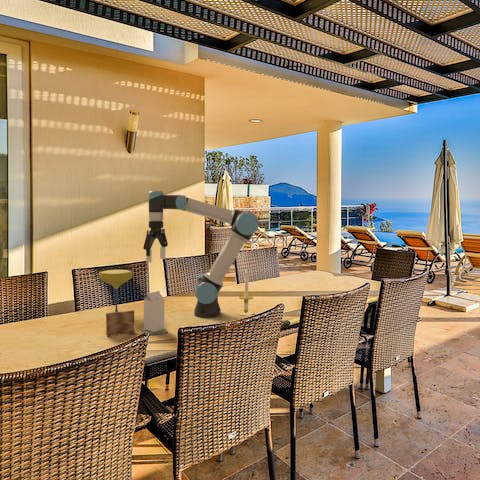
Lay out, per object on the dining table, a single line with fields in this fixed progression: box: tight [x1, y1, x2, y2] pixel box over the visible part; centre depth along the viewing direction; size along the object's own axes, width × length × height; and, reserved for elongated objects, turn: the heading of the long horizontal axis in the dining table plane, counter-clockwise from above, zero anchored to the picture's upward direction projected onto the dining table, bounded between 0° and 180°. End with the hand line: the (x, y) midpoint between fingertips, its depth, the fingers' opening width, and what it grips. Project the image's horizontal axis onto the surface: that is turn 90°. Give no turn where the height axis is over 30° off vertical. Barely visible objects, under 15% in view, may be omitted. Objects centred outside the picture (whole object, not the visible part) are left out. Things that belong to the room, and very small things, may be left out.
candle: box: [238, 268, 255, 313], centre depth 240 cm, size 10×10×27 cm
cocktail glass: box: [98, 267, 134, 312], centre depth 233 cm, size 18×18×25 cm
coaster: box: [140, 326, 169, 336], centre depth 207 cm, size 11×11×1 cm
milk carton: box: [143, 290, 165, 332], centre depth 206 cm, size 7×7×19 cm
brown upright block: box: [105, 309, 136, 338], centre depth 201 cm, size 13×5×11 cm, turn 114°
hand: (156, 260), depth 221 cm, fingers open, 13 cm apart
